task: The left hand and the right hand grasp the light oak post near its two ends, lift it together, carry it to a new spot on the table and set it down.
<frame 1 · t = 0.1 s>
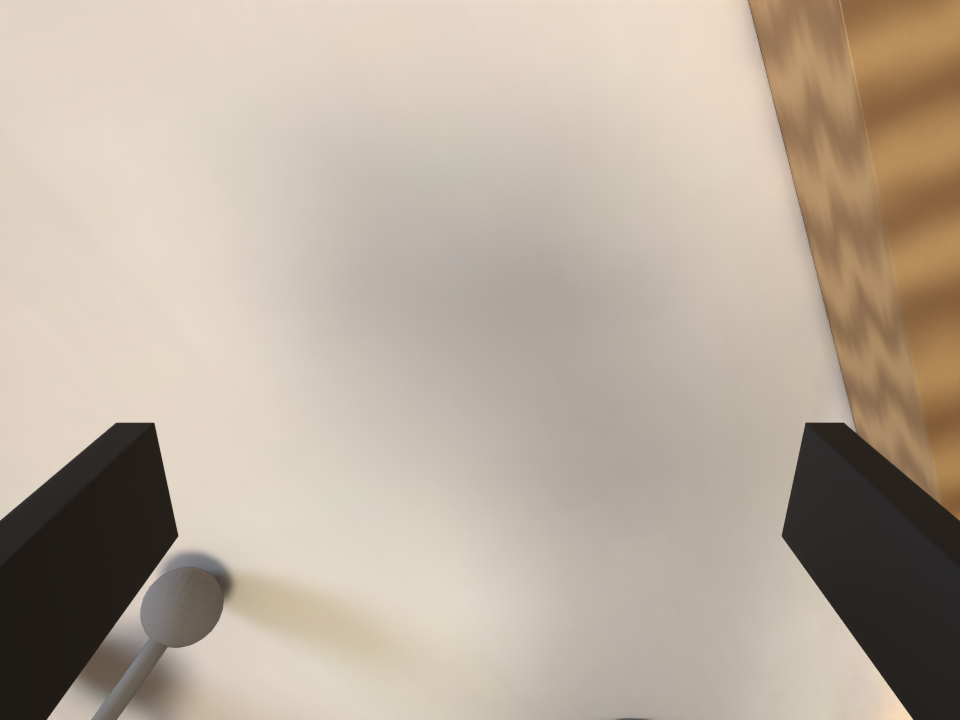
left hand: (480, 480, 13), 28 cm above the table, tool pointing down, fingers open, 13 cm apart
molecular model: (151, 643, 51), on the table
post: (847, 198, 38), on the table
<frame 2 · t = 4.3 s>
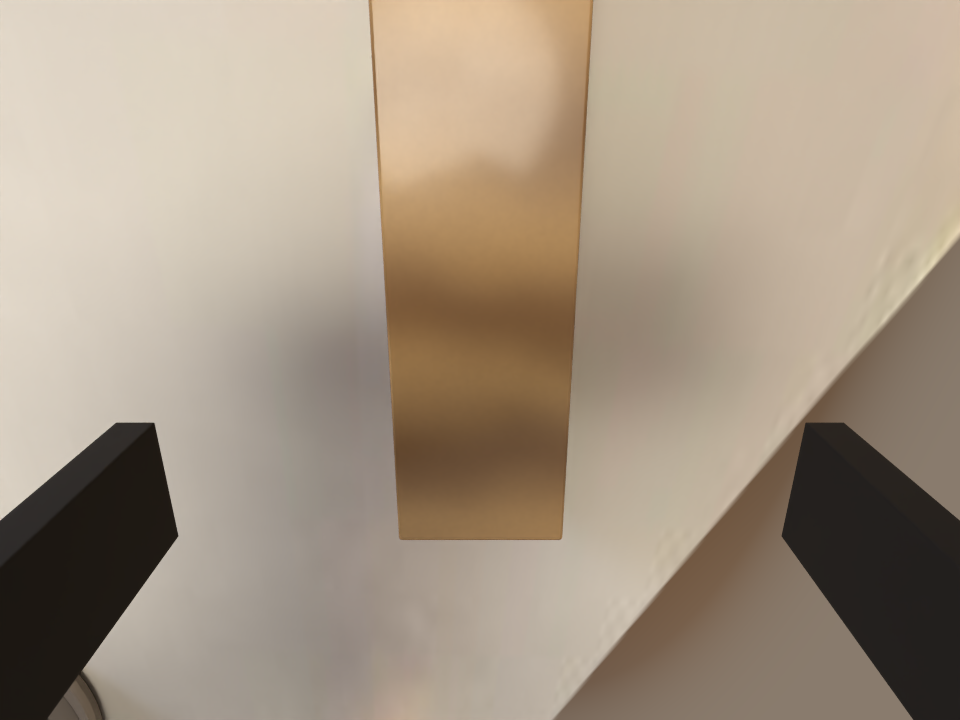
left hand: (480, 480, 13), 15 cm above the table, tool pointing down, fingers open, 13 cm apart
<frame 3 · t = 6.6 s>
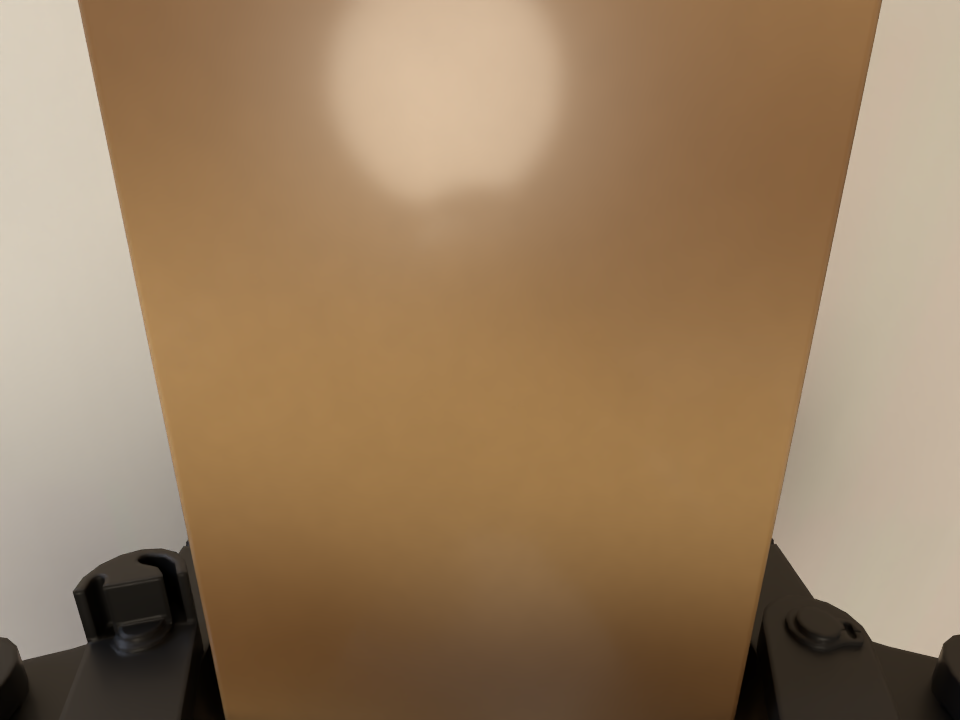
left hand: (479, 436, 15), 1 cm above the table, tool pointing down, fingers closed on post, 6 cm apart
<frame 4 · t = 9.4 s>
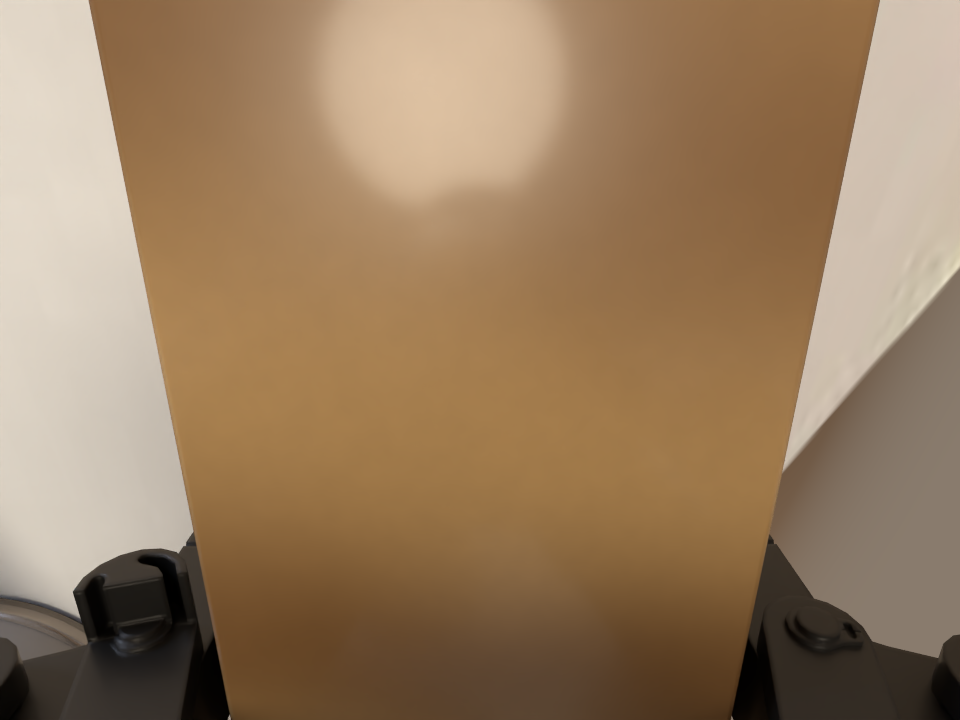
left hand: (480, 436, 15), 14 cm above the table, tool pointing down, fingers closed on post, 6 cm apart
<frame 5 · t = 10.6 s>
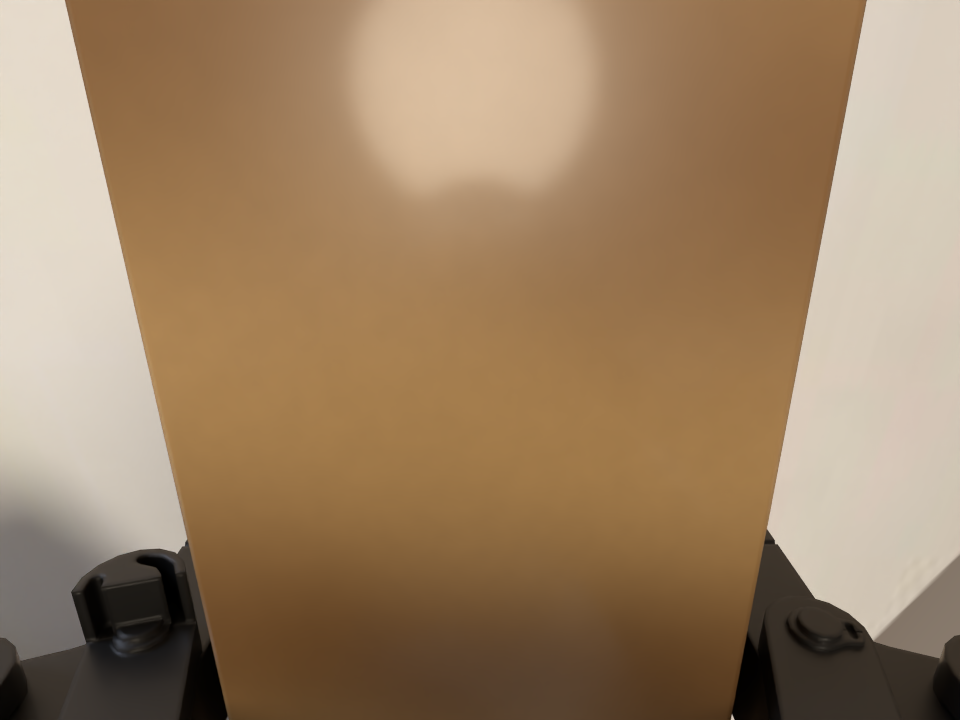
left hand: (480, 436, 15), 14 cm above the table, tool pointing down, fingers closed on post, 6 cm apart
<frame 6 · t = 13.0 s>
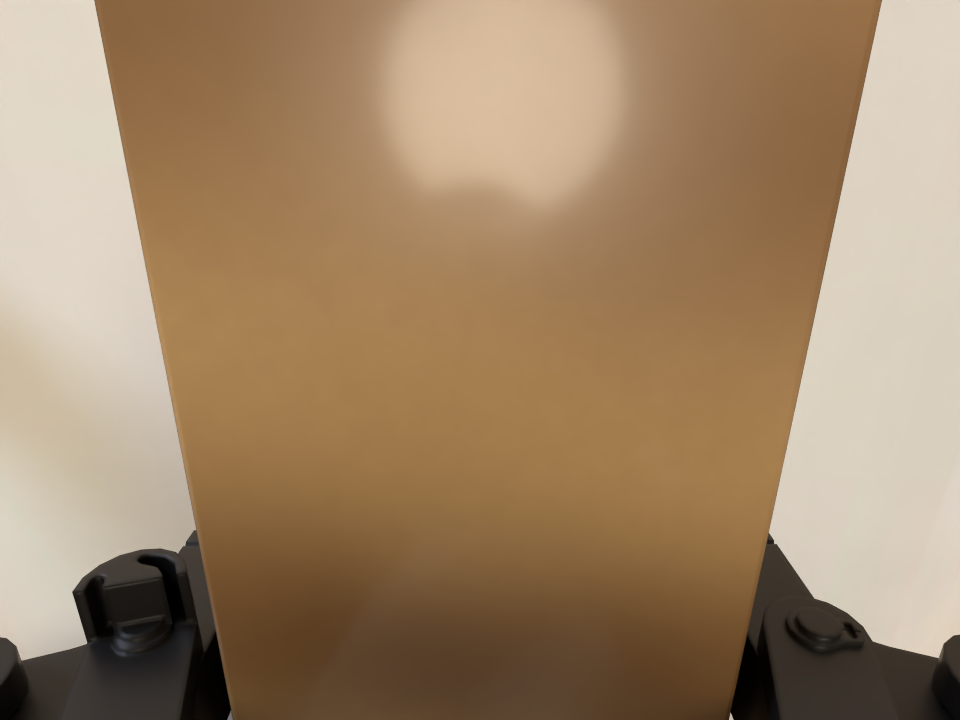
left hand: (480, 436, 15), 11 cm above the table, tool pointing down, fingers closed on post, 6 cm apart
when the left hand's fingers open (2 cm above the table, at t = 14.5 s): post drops 1 cm, on the table.
when the right hand's fingers open (4 cm above the table, at t = 14.7 s): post stays where it is, on the table.
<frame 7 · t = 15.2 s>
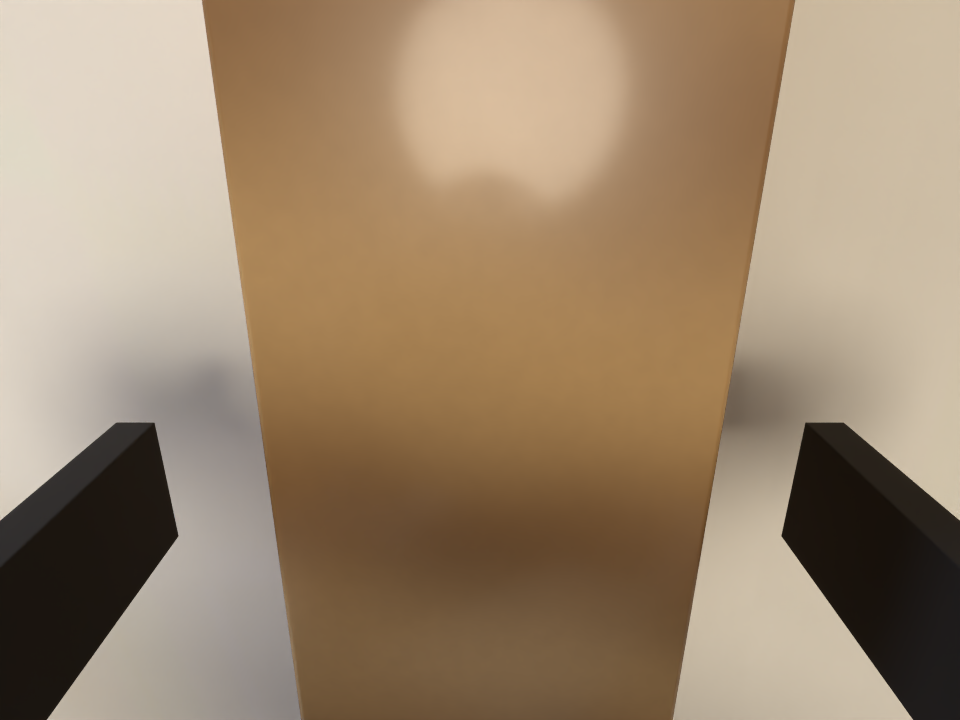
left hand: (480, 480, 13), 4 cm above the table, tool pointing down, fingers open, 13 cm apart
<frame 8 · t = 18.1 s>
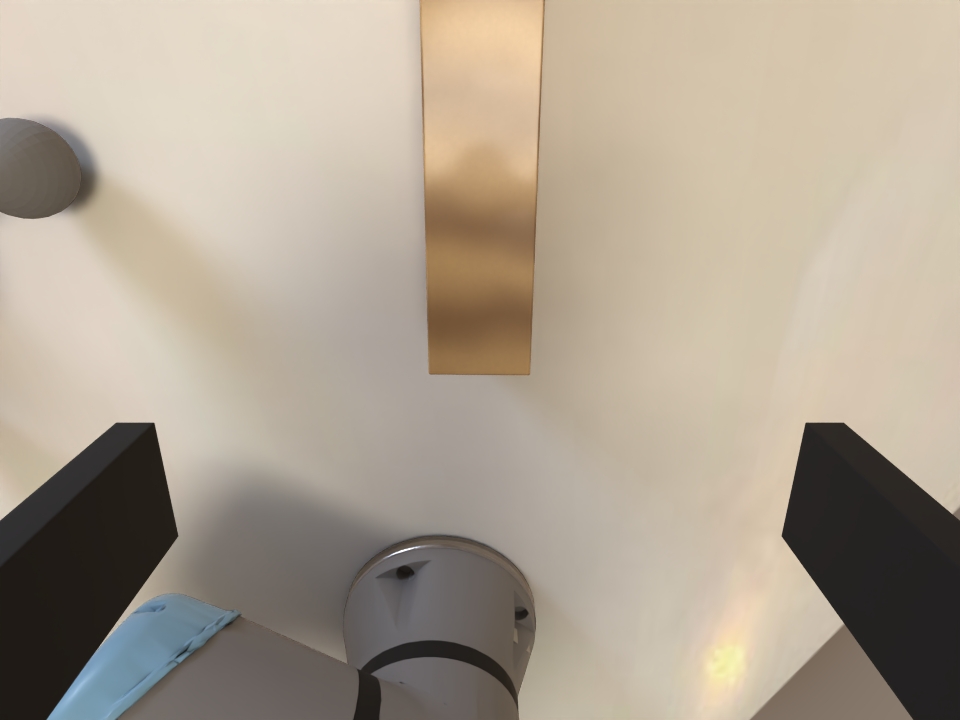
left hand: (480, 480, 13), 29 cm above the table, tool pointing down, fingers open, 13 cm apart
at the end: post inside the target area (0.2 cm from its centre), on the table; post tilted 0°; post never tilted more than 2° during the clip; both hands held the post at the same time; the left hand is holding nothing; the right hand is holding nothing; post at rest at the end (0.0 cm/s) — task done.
